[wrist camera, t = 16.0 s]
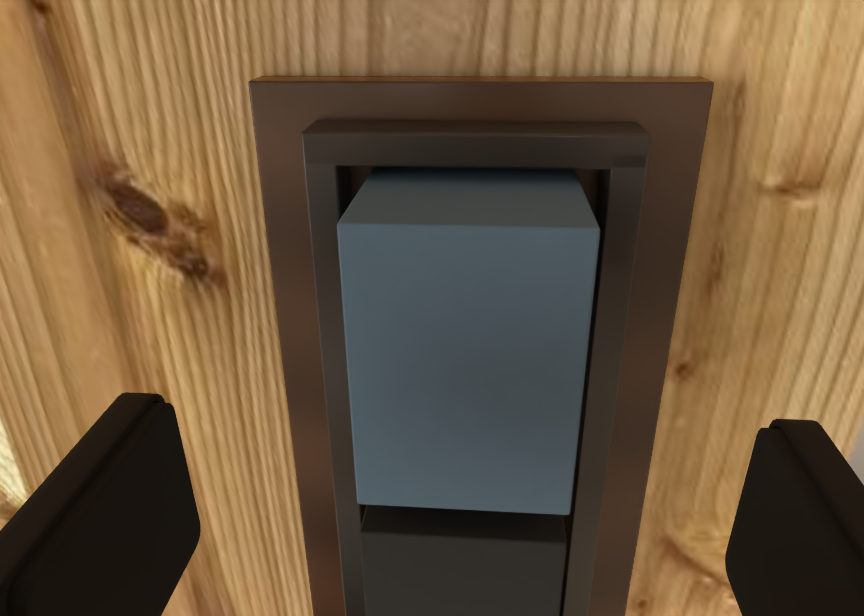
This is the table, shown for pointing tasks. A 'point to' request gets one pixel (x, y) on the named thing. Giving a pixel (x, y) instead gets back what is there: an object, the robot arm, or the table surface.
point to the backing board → (484, 148)
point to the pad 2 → (461, 562)
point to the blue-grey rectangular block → (467, 335)
